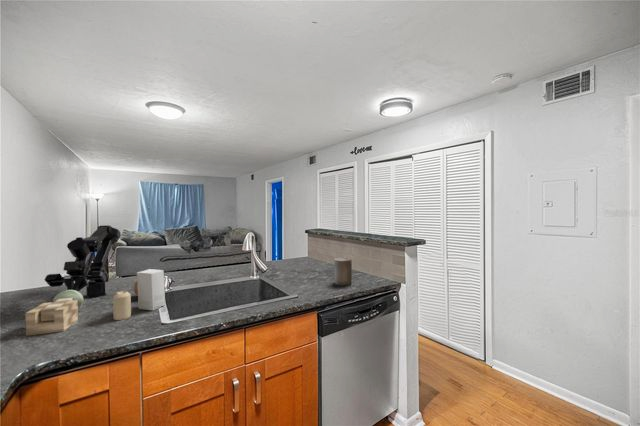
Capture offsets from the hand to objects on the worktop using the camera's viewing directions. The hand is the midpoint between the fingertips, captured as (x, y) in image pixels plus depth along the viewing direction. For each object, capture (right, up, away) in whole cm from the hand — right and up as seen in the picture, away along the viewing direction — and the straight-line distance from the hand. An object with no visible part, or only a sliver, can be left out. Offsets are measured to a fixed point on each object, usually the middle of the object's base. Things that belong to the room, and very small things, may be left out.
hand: (69, 297), depth 109 cm
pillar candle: (+111, -6, +45) cm, 120 cm away
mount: (+4, -7, -11) cm, 13 cm away
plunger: (+2, -6, -7) cm, 9 cm away
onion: (+17, -6, +21) cm, 28 cm away
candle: (+22, -7, -2) cm, 23 cm away
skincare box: (+27, -7, +8) cm, 29 cm away
